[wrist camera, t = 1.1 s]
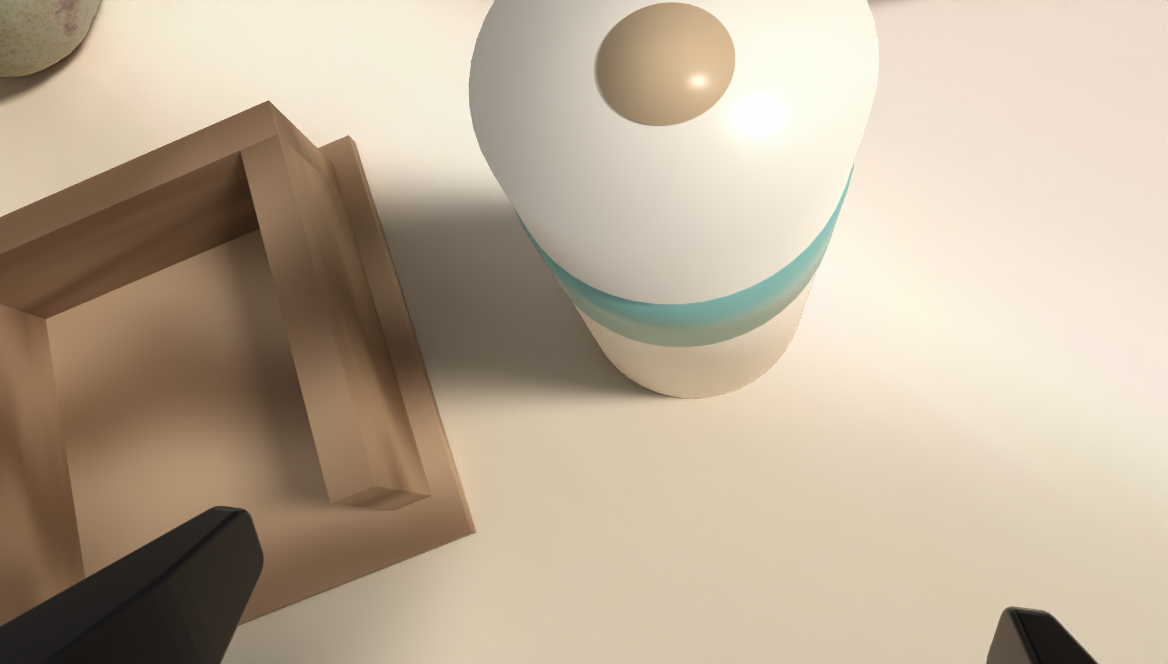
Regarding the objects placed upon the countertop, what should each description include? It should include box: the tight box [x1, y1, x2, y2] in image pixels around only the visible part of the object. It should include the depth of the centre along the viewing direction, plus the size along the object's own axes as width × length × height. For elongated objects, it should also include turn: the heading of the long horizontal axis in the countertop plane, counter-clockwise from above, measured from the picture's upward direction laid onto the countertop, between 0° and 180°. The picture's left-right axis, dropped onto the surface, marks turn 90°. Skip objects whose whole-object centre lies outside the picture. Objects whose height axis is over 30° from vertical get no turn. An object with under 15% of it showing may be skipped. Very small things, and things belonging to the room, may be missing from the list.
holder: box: [0, 100, 476, 626], centre depth 24 cm, size 14×14×4 cm
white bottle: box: [469, 0, 879, 399], centre depth 18 cm, size 7×7×12 cm
